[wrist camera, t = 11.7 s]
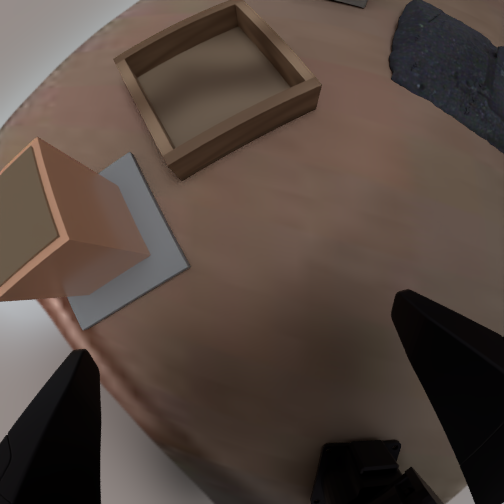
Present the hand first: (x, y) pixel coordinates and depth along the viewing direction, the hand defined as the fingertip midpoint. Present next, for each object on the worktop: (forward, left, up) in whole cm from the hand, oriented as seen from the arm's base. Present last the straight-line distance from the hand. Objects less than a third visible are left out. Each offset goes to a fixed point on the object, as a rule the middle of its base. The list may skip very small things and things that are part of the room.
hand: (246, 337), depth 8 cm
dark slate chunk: (+22, -21, -14) cm, 34 cm away
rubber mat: (+3, +12, -14) cm, 18 cm away
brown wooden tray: (+16, +5, -14) cm, 22 cm away
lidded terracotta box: (+3, +12, -13) cm, 18 cm away
